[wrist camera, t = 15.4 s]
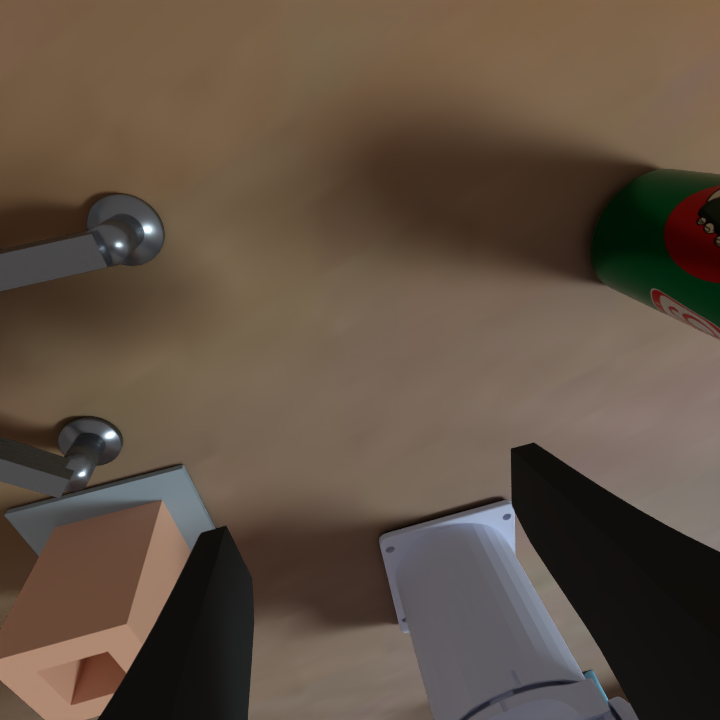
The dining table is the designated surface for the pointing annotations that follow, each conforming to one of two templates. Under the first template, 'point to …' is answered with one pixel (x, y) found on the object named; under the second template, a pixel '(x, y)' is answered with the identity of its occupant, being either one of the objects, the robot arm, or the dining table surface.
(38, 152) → the dining table surface
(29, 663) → the pink block with hole
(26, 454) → the bent jointed bar linkage
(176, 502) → the mat
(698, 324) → the soda can
